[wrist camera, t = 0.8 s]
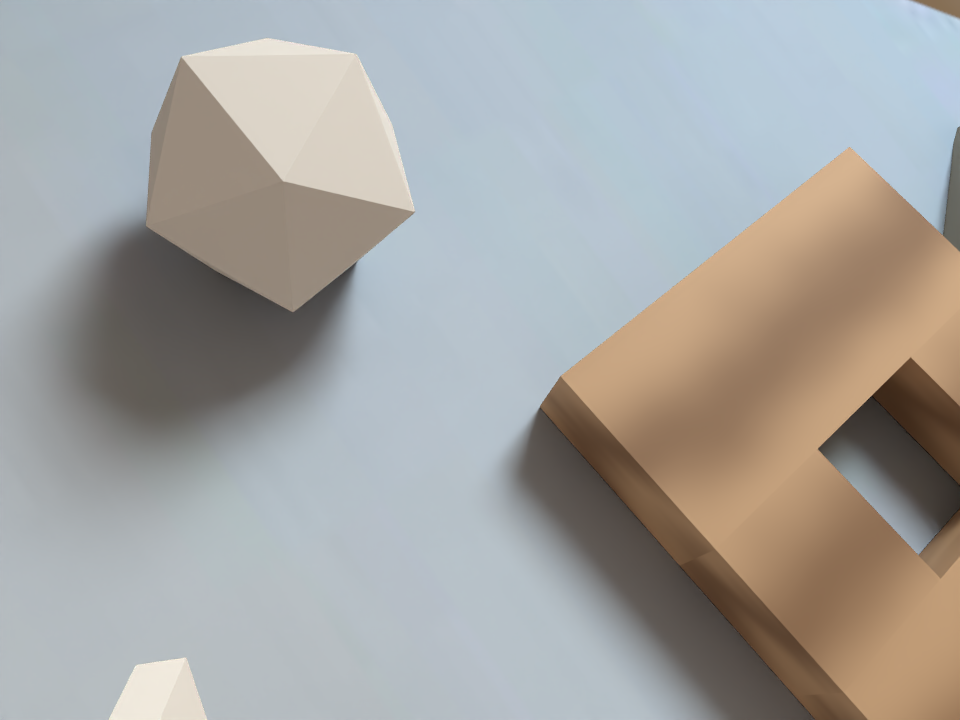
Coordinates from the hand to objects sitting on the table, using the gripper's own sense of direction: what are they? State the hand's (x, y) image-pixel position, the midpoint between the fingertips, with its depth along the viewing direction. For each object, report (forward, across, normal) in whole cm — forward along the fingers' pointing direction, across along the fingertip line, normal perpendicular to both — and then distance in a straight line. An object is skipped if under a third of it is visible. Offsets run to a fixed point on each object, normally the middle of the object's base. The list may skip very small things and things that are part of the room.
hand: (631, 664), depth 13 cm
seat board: (+18, +12, -9) cm, 23 cm away
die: (+22, -8, +3) cm, 24 cm away
